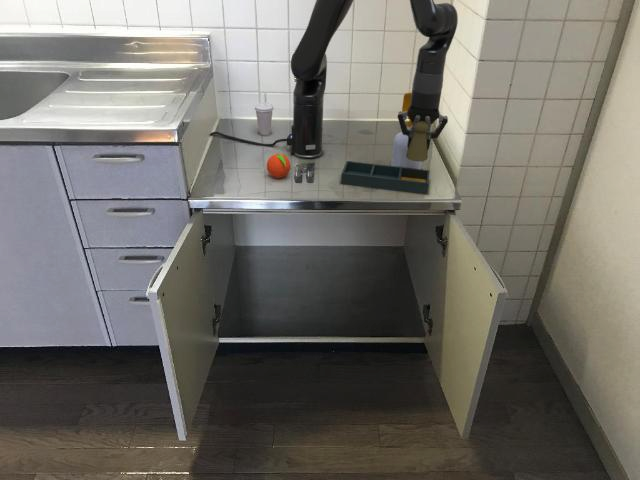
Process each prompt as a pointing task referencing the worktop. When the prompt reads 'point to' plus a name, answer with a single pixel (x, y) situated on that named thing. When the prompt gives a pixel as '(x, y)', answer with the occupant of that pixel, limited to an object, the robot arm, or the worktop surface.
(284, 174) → the clementine
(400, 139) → the soap bottle
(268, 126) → the smoothie
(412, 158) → the cork
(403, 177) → the tray
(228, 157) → the worktop surface
